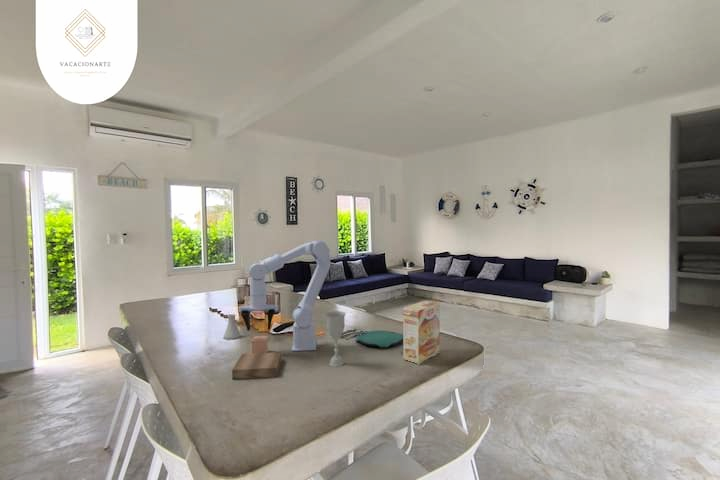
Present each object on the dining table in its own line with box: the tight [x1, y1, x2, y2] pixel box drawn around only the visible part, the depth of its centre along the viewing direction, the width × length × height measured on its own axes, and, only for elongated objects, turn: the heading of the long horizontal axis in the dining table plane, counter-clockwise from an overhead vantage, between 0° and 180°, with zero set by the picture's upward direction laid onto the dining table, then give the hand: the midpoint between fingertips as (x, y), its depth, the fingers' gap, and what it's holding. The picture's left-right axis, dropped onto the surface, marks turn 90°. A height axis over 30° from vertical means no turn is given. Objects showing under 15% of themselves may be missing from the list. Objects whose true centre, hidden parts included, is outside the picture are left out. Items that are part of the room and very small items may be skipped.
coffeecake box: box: [402, 300, 441, 365], centre depth 129 cm, size 15×7×20 cm, turn 137°
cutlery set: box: [340, 329, 403, 348], centre depth 150 cm, size 20×30×2 cm, turn 50°
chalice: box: [325, 310, 347, 367], centre depth 123 cm, size 7×7×18 cm
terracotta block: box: [251, 335, 269, 354], centre depth 134 cm, size 5×5×6 cm
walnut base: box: [231, 351, 282, 380], centre depth 120 cm, size 14×14×3 cm
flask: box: [223, 313, 242, 340], centre depth 154 cm, size 7×7×10 cm
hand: (259, 329), depth 134 cm, fingers open, 7 cm apart
